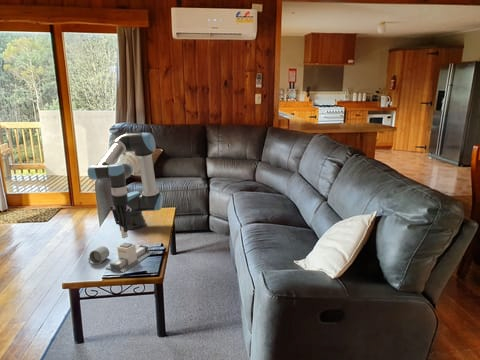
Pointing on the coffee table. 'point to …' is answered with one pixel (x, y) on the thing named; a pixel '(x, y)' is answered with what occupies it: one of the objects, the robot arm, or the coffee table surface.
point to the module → (127, 252)
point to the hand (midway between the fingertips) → (124, 237)
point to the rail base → (123, 263)
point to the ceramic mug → (98, 255)
